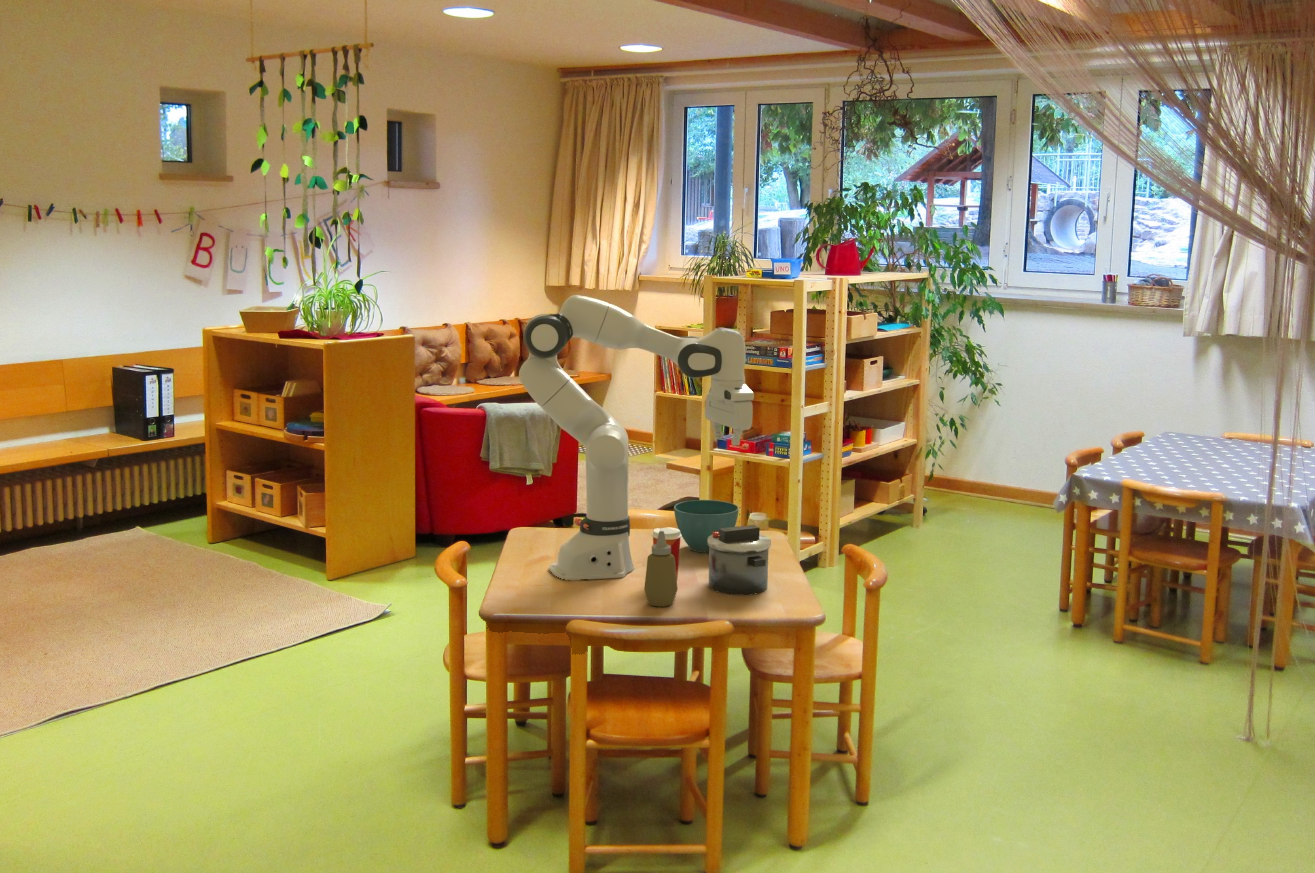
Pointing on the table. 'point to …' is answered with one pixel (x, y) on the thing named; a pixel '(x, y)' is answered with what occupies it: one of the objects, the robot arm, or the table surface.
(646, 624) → the table surface
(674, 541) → the paper cup
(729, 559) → the pot
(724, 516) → the teal bowl
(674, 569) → the squeeze bottle
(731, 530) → the lid
